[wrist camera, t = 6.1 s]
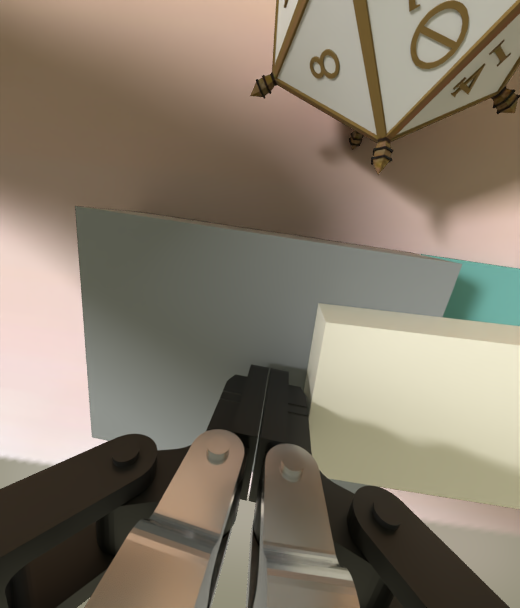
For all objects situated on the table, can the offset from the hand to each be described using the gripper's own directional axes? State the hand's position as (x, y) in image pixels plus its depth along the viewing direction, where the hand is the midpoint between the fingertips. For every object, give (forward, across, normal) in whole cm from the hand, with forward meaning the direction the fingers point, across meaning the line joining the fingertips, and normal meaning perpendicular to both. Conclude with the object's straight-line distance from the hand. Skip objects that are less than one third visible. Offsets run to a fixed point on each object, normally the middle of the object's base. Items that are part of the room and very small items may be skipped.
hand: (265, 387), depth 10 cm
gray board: (+5, +1, 0) cm, 5 cm away
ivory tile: (+1, -6, -1) cm, 6 cm away
